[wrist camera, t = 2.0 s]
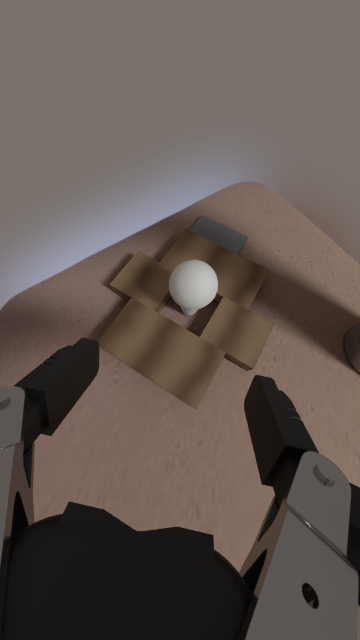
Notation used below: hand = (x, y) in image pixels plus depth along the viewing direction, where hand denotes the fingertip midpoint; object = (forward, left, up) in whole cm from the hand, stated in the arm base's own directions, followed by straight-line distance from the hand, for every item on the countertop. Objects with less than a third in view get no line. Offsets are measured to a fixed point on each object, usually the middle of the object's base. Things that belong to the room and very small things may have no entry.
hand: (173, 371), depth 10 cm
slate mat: (+7, -25, -19) cm, 32 cm away
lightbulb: (+4, -11, -19) cm, 23 cm away
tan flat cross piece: (+4, -11, -19) cm, 23 cm away
